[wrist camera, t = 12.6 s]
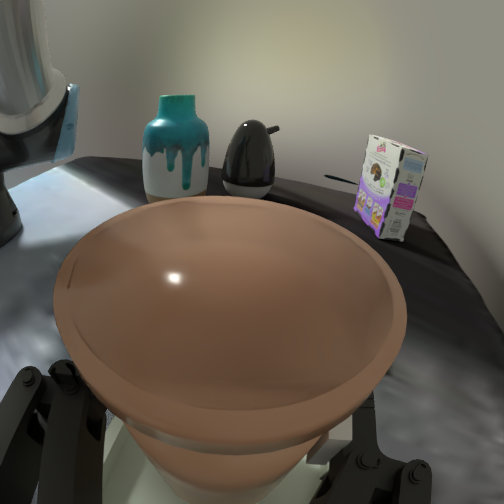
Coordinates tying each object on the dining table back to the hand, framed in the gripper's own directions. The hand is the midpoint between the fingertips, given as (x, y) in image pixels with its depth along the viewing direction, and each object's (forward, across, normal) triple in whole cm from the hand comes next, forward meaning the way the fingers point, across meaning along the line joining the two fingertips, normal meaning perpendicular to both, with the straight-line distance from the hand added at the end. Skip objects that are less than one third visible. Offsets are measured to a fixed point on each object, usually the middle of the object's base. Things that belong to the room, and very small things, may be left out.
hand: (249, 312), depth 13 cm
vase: (+31, -18, -10) cm, 37 cm away
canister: (-5, 0, -8) cm, 9 cm away
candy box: (+41, +18, -10) cm, 46 cm away
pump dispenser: (+43, -8, -10) cm, 45 cm away
